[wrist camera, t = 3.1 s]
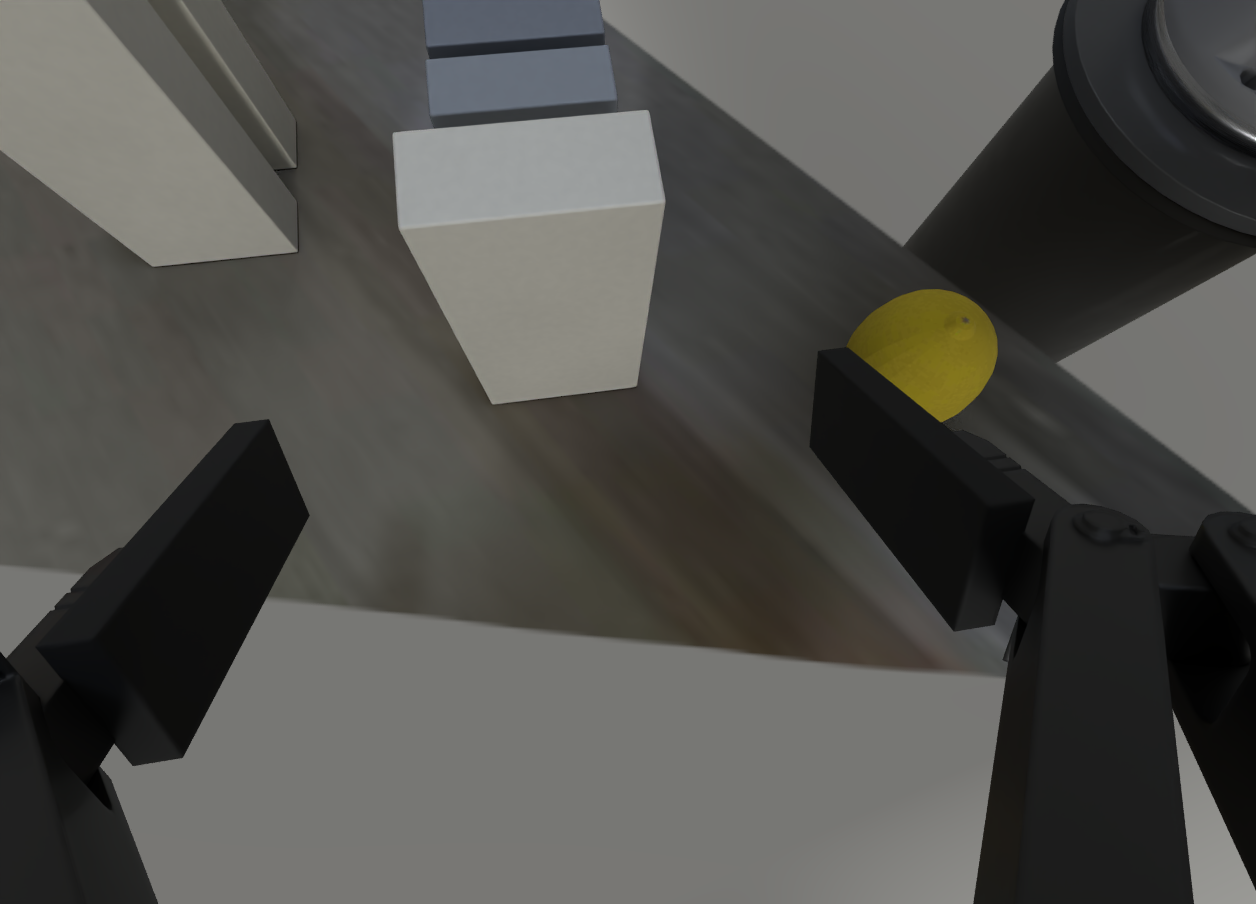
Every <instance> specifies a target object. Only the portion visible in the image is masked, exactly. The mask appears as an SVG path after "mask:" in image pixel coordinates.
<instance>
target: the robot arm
mask: <svg viewBox="0 0 1256 904" xmlns="http://www.w3.org/2000/svg"><path fill="white" fill-rule="evenodd" d="M1142 38H1143V45H1144V50H1145V54H1146V57H1147V60H1148V63H1149V65H1150V68H1151V70H1152V72H1153V74H1154V76H1155V78H1156V79H1157V81H1158V83H1159V85H1160V86H1161V88H1162V89H1163V91H1164V92H1165V94H1166V95H1167V96H1168V97H1169V99H1170V100H1171V101H1172V102H1173V104H1174V105H1175V106H1176V107H1177V108H1178V109H1179V110H1180V111H1181V112H1182V113H1183V114H1184V115H1185V116H1186V117H1187V118H1188V119H1189V120H1190V121H1191V122H1193V123H1194V124H1195V125H1196V126H1197V127H1199V128H1200V129H1201V130H1203V131H1204V132H1205V133H1207V134H1208V135H1210V136H1211V137H1213V138H1214V139H1216V140H1217V141H1219V142H1221V143H1223V144H1224V145H1226V146H1228V147H1230V148H1232V149H1234V150H1236V151H1238V152H1240V153H1242V154H1245V155H1247V156H1250V157H1252V158H1255V159H1256V0H1148V1H1147V4H1146V6H1145V10H1144V14H1143V20H1142ZM810 448H811V449H812V451H813V452H814V453H815V455H816V456H817V457H818V458H819V460H820V461H821V462H822V463H823V465H824V466H825V467H826V469H827V470H828V471H829V472H830V474H831V475H832V476H833V478H834V479H835V480H836V481H837V483H838V484H839V485H840V487H841V488H842V489H843V490H844V492H845V493H846V494H847V495H848V497H849V498H850V499H851V501H852V502H853V503H854V504H855V506H856V507H857V508H858V510H859V511H860V512H861V513H862V515H863V516H864V517H865V518H866V520H867V521H868V522H869V524H870V525H871V526H872V527H873V529H874V530H875V531H876V533H877V534H878V535H879V536H880V538H881V539H882V540H883V542H884V543H885V544H886V545H887V547H888V548H889V549H890V550H891V552H892V553H893V554H894V556H895V557H896V558H897V559H898V561H899V562H900V563H901V565H902V566H903V567H904V568H905V570H906V571H907V572H908V573H909V575H910V576H911V577H912V579H913V580H914V581H915V582H916V584H917V585H918V586H919V588H920V589H921V590H922V591H923V593H924V594H925V595H926V597H927V598H928V599H929V600H930V602H931V603H932V604H933V605H934V607H935V608H936V609H937V611H938V612H939V613H940V614H941V616H942V617H943V618H944V620H945V621H946V622H947V623H948V625H949V626H950V627H951V629H952V630H953V631H960V630H966V629H972V628H979V627H985V626H991V625H995V622H996V619H997V616H998V612H999V609H1000V606H1001V603H1002V600H1004V601H1005V602H1006V603H1007V604H1008V605H1009V606H1010V607H1011V608H1012V609H1013V610H1014V611H1015V613H1016V614H1017V615H1018V617H1017V620H1016V623H1015V625H1014V628H1013V631H1012V634H1011V637H1010V640H1009V643H1008V646H1007V648H1006V651H1005V654H1004V657H1003V660H1004V661H1007V662H1008V667H1007V674H1006V681H1005V688H1004V695H1003V703H1002V709H1001V716H1000V723H999V730H998V737H997V744H996V751H995V758H994V764H993V772H992V778H991V785H990V792H989V799H988V806H987V813H986V820H985V827H984V833H983V840H982V848H981V854H980V861H979V868H978V876H977V882H976V889H975V896H974V903H973V904H1194V900H1193V892H1192V882H1191V874H1190V864H1189V855H1188V846H1187V837H1186V828H1185V819H1184V810H1183V802H1182V793H1181V784H1180V774H1179V765H1178V757H1177V747H1176V738H1175V729H1174V720H1173V711H1174V713H1175V715H1176V717H1177V720H1178V722H1179V724H1180V726H1181V728H1182V730H1183V733H1184V735H1185V737H1186V739H1187V741H1188V743H1189V746H1190V748H1191V750H1192V752H1193V754H1194V756H1195V759H1196V761H1197V763H1198V765H1199V767H1200V770H1201V772H1202V774H1203V776H1204V778H1205V781H1206V783H1207V785H1208V787H1209V789H1210V791H1211V794H1212V796H1213V798H1214V800H1215V802H1216V804H1217V807H1218V809H1219V811H1220V813H1221V815H1222V817H1223V820H1224V822H1225V824H1226V826H1227V829H1228V831H1229V833H1230V835H1231V837H1232V839H1233V842H1234V844H1235V846H1236V848H1237V850H1238V852H1239V855H1240V857H1241V859H1242V861H1243V863H1244V866H1245V868H1246V870H1247V872H1248V874H1249V876H1250V879H1251V881H1252V883H1253V885H1254V887H1255V890H1256V515H1252V514H1247V513H1241V512H1218V513H1214V514H1211V515H1208V516H1207V517H1206V518H1205V520H1204V521H1203V522H1202V524H1201V526H1200V528H1199V530H1198V532H1197V534H1196V536H1195V537H1190V536H1175V535H1160V534H1150V532H1149V530H1148V529H1146V528H1145V527H1144V526H1143V525H1142V524H1140V523H1139V522H1138V521H1137V520H1135V519H1133V518H1131V517H1129V516H1127V515H1125V514H1123V513H1121V512H1118V511H1115V510H1112V509H1109V508H1105V507H1102V506H1096V505H1088V504H1073V505H1071V504H1070V503H1069V502H1067V501H1066V500H1065V499H1063V498H1062V497H1061V496H1059V495H1058V494H1057V493H1056V492H1054V491H1053V490H1052V489H1050V488H1049V487H1048V486H1046V485H1045V484H1044V483H1042V482H1041V481H1040V480H1039V479H1037V478H1036V477H1035V476H1033V475H1032V474H1031V473H1029V472H1028V471H1027V470H1025V469H1021V466H1020V465H1019V464H1018V463H1016V462H1015V461H1014V460H1012V459H1011V458H1007V457H1006V454H1005V453H1003V452H1002V451H1001V450H999V449H998V448H997V447H995V446H994V445H993V444H992V443H990V442H989V441H987V440H985V439H982V438H980V437H978V436H975V435H973V434H971V433H968V432H966V431H964V430H962V431H955V432H952V431H951V430H950V429H948V428H947V427H946V426H945V425H943V424H942V423H941V422H940V421H938V420H937V419H936V418H935V417H933V416H932V415H931V414H930V413H929V412H927V411H926V410H925V409H924V408H922V407H921V406H920V405H919V404H917V403H916V402H915V401H914V400H912V399H911V398H910V397H909V396H908V395H906V394H905V393H904V392H903V391H901V390H900V389H899V388H898V387H896V386H895V385H894V384H893V383H891V382H890V381H889V380H888V379H887V378H885V377H884V376H883V375H882V374H880V373H879V372H878V371H877V370H875V369H874V368H873V367H872V366H870V365H869V364H868V363H867V362H865V361H864V360H863V359H862V358H861V357H859V356H858V355H857V354H856V353H854V352H853V351H852V350H851V349H849V348H848V347H846V348H838V349H830V350H822V351H818V358H817V369H816V380H815V392H814V403H813V414H812V425H811V436H810ZM309 516H310V515H309V513H308V510H307V508H306V506H305V503H304V501H303V499H302V496H301V494H300V491H299V489H298V487H297V484H296V482H295V480H294V477H293V475H292V473H291V470H290V468H289V465H288V463H287V461H286V458H285V456H284V454H283V451H282V449H281V447H280V444H279V442H278V440H277V437H276V435H275V432H274V430H273V428H272V425H271V423H270V421H269V419H267V420H259V421H251V422H243V423H235V424H234V425H233V426H232V427H231V428H230V429H229V430H228V431H227V432H226V434H225V435H224V436H223V437H222V438H221V439H220V440H219V441H218V443H217V444H216V445H215V446H214V447H213V448H212V449H211V450H210V452H209V453H208V454H207V455H206V456H205V457H204V458H203V459H202V460H201V462H200V463H199V464H198V465H197V466H196V467H195V468H194V469H193V471H192V472H191V473H190V474H189V475H188V476H187V477H186V478H185V480H184V481H183V482H182V483H181V484H180V485H179V486H178V487H177V488H176V490H175V491H174V492H173V493H172V494H171V495H170V496H169V497H168V499H167V500H166V501H165V502H164V503H163V504H162V505H161V506H160V507H159V509H158V510H157V511H156V512H155V513H154V514H153V515H152V516H151V518H150V519H149V520H148V521H147V522H146V523H145V524H144V525H143V527H142V528H141V529H140V530H139V531H138V532H137V533H136V534H135V535H134V537H133V538H132V539H131V540H130V541H129V542H128V543H127V544H126V546H125V547H123V548H118V549H117V550H115V551H114V552H112V553H111V554H109V555H108V556H106V557H105V558H104V559H102V560H101V561H99V562H98V563H96V564H95V565H94V566H92V567H91V568H89V570H88V571H87V572H86V573H85V574H84V575H83V576H82V577H81V578H80V579H79V581H77V583H76V584H75V585H74V586H73V587H72V588H71V593H66V594H65V595H64V597H63V598H62V599H61V600H60V601H59V602H58V603H57V604H56V605H55V610H53V611H50V612H49V613H48V614H47V615H46V616H45V617H44V618H43V619H42V620H41V621H40V623H39V624H38V625H37V626H36V627H35V628H34V629H33V630H32V631H31V632H30V633H29V634H28V635H27V637H26V638H25V639H24V640H23V641H22V642H21V643H20V644H19V645H18V646H17V647H16V649H15V650H14V651H13V652H12V653H11V654H10V655H9V656H8V657H7V658H5V657H4V656H3V655H2V653H1V652H0V904H158V902H157V899H156V897H155V894H154V892H153V889H152V886H151V883H150V881H149V878H148V876H147V873H146V870H145V868H144V865H143V862H142V860H141V857H140V854H139V852H138V849H137V847H136V844H135V841H134V839H133V836H132V834H131V831H130V828H129V825H128V823H127V820H126V818H125V815H124V812H123V810H122V807H121V805H120V802H119V800H118V797H117V794H116V791H115V789H114V786H113V783H112V781H111V779H110V778H109V776H108V775H107V774H106V773H105V772H104V771H103V770H102V768H101V767H100V765H101V763H102V761H103V760H104V758H105V757H106V755H107V754H108V752H109V750H110V749H111V747H112V746H113V744H115V745H116V746H117V747H118V749H119V750H120V751H121V752H122V753H123V755H124V756H125V757H126V758H127V759H128V761H129V762H130V763H131V764H132V766H136V765H142V764H148V763H155V762H160V761H167V760H173V759H178V758H183V756H184V754H185V753H186V751H187V749H188V747H189V745H190V743H191V741H192V739H193V737H194V735H195V733H196V732H197V729H198V728H199V726H200V724H201V722H202V720H203V718H204V716H205V714H206V712H207V711H208V709H209V707H210V705H211V703H212V701H213V699H214V697H215V695H216V693H217V691H218V689H219V688H220V686H221V684H222V682H223V680H224V678H225V676H226V674H227V672H228V670H229V668H230V666H231V665H232V663H233V661H234V659H235V657H236V655H237V653H238V651H239V649H240V647H241V646H242V644H243V642H244V640H245V638H246V636H247V634H248V632H249V630H250V628H251V626H252V625H253V623H254V621H255V619H256V617H257V615H258V613H259V611H260V609H261V607H262V605H263V603H264V602H265V600H266V598H267V596H268V594H269V592H270V590H271V588H272V586H273V584H274V582H275V581H276V579H277V577H278V575H279V573H280V571H281V569H282V567H283V565H284V563H285V561H286V560H287V558H288V556H289V554H290V552H291V550H292V548H293V546H294V544H295V542H296V540H297V538H298V537H299V535H300V533H301V531H302V529H303V527H304V525H305V523H306V521H307V519H308V517H309ZM1172 709H1173V711H1172Z"/></svg>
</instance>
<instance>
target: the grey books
mask: <svg viewBox="0 0 1256 904" xmlns="http://www.w3.org/2000/svg"><path fill="white" fill-rule="evenodd" d="M422 3H423V15H424V27H425V39H426V48H427V51H428V54H429V58H430V59H427V60H426V61H425V65H426V77H427V90H428V102H429V115H430V118H431V121H432V124H433V127H434V129H437V128H448V127H460V126H471V125H482V124H493V123H505V122H516V121H527V120H538V119H549V118H561V117H572V116H583V115H594V114H606V113H617V108H618V97H617V92H616V86H615V80H614V74H613V68H612V62H611V57H610V51H609V47H608V45H605V31H604V25H603V19H602V13H601V8H600V2H599V0H422Z"/></svg>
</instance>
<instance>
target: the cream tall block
mask: <svg viewBox="0 0 1256 904" xmlns="http://www.w3.org/2000/svg"><path fill="white" fill-rule="evenodd" d="M393 152H394V168H395V184H396V200H397V216H398V228H399V230H400V232H401V234H402V236H403V238H404V240H405V241H406V243H407V245H408V247H409V249H410V251H411V253H412V255H413V256H414V258H415V260H416V262H417V264H418V266H419V268H420V270H421V272H422V273H423V275H424V277H425V279H426V281H427V283H428V285H429V287H430V288H431V290H432V292H433V294H434V296H435V298H436V300H437V302H438V304H439V305H440V307H441V309H442V311H443V313H444V315H445V317H446V319H447V320H448V322H449V324H450V326H451V328H452V330H453V332H454V334H455V336H456V337H457V339H458V341H459V343H460V345H461V347H462V349H463V351H464V352H465V354H466V356H467V358H468V360H469V362H470V364H471V366H472V368H473V369H474V371H475V373H476V375H477V377H478V379H479V381H480V383H481V384H482V386H483V388H484V390H485V392H486V394H487V396H488V398H489V400H490V401H491V403H492V404H493V405H494V404H502V403H510V402H518V401H526V400H535V399H543V398H551V397H559V396H567V395H575V394H583V393H591V392H599V391H607V390H616V389H624V388H632V387H636V386H637V381H638V375H639V369H640V362H641V356H642V349H643V343H644V337H645V330H646V324H647V317H648V311H649V305H650V298H651V292H652V285H653V279H654V273H655V266H656V260H657V253H658V247H659V241H660V234H661V228H662V221H663V215H664V209H665V202H666V200H665V194H664V189H663V183H662V178H661V173H660V167H659V162H658V156H657V151H656V146H655V140H654V135H653V129H652V124H651V119H650V113H649V111H648V110H639V111H628V112H617V113H606V114H594V115H583V116H572V117H561V118H549V119H538V120H527V121H516V122H505V123H493V124H482V125H471V126H460V127H448V128H437V129H426V130H415V131H403V132H395V133H393Z"/></svg>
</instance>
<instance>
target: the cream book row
mask: <svg viewBox="0 0 1256 904" xmlns="http://www.w3.org/2000/svg"><path fill="white" fill-rule="evenodd" d="M0 150H1V151H2V152H3V153H5V154H6V155H7V156H9V157H10V158H11V159H12V160H14V161H15V162H16V163H18V164H19V165H20V166H22V167H23V168H24V169H26V170H27V171H28V172H29V173H31V174H32V175H33V176H35V177H36V178H37V179H39V180H40V181H41V182H43V183H44V184H45V185H46V186H48V187H49V188H50V189H52V190H53V191H54V192H56V193H57V194H58V195H60V196H61V197H62V198H63V199H65V200H66V201H67V202H69V203H70V204H71V205H73V206H74V207H75V208H76V209H78V210H79V211H80V212H82V213H83V214H84V215H86V216H87V217H88V218H90V219H91V220H92V221H93V222H95V223H96V224H97V225H99V226H100V227H101V228H103V229H104V230H105V231H107V232H108V233H109V234H110V235H112V236H113V237H114V238H116V239H117V240H118V241H120V242H121V243H122V244H123V245H125V246H126V247H127V248H129V249H130V250H131V251H133V252H134V253H135V254H137V255H138V256H139V257H140V258H142V259H143V260H144V261H146V262H147V263H148V264H150V265H151V266H153V267H157V266H167V265H177V264H186V263H196V262H206V261H216V260H225V259H235V258H245V257H255V256H264V255H274V254H284V253H294V252H298V229H297V201H296V199H295V198H294V197H293V195H292V194H291V193H290V191H289V190H288V189H287V187H286V186H285V185H284V183H283V182H282V181H281V179H280V178H279V177H278V175H277V174H276V173H275V171H274V170H277V169H288V168H296V167H297V156H296V120H295V118H294V117H293V115H292V113H291V112H290V110H289V109H288V107H287V105H286V104H285V102H284V101H283V99H282V97H281V96H280V94H279V93H278V91H277V89H276V88H275V86H274V85H273V83H272V81H271V80H270V78H269V77H268V75H267V73H266V72H265V70H264V69H263V67H262V65H261V64H260V62H259V61H258V59H257V57H256V56H255V54H254V53H253V51H252V49H251V48H250V46H249V45H248V43H247V41H246V40H245V38H244V37H243V35H242V33H241V32H240V30H239V29H238V27H237V25H236V24H235V22H234V21H233V19H232V17H231V16H230V14H229V13H228V11H227V9H226V8H225V6H224V5H223V3H222V1H221V0H0Z"/></svg>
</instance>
